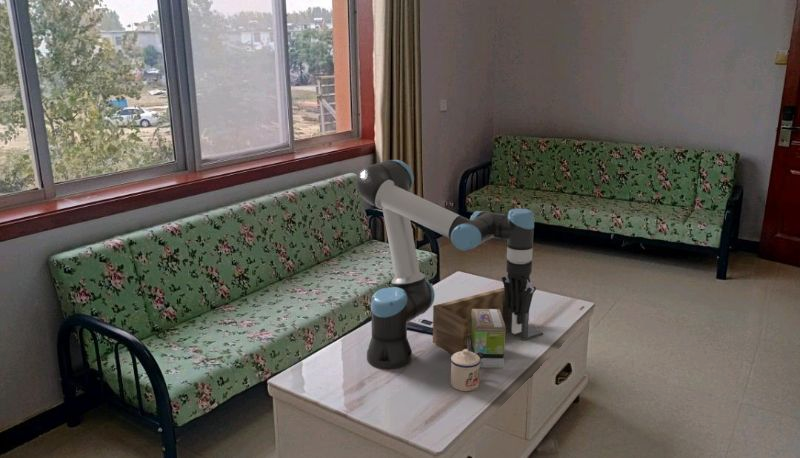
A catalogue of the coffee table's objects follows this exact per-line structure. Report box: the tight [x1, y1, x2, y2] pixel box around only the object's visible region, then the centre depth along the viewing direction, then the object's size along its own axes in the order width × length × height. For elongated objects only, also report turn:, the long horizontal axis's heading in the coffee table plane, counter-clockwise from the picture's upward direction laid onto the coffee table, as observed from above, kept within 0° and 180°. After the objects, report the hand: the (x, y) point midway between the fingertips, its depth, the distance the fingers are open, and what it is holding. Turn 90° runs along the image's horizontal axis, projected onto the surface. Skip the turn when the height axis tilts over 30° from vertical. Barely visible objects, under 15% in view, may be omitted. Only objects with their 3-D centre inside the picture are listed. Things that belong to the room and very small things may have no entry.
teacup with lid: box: [450, 348, 481, 392], centre depth 195 cm, size 12×9×12 cm
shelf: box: [432, 287, 505, 356], centre depth 223 cm, size 36×17×14 cm, turn 122°
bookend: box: [502, 293, 544, 341], centre depth 229 cm, size 9×12×14 cm
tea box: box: [469, 309, 507, 369], centre depth 210 cm, size 15×10×15 cm
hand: (516, 331), depth 197 cm, fingers closed
